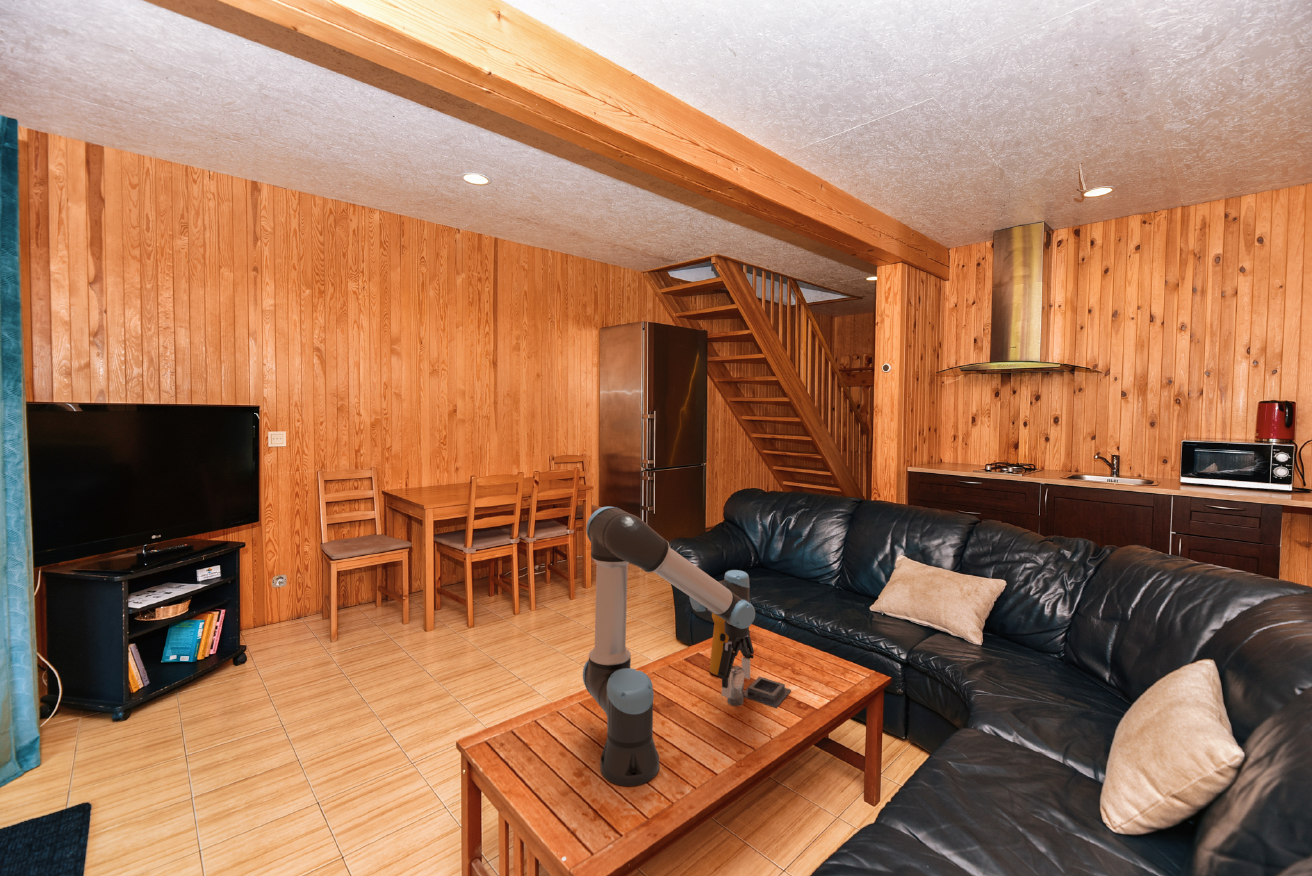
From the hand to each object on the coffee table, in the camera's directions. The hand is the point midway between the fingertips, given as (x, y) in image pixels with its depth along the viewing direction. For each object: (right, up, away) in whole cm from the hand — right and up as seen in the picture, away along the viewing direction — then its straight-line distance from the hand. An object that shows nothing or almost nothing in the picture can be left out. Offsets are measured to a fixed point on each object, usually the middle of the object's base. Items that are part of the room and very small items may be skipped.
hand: (736, 687), depth 176 cm
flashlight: (-3, -3, +19) cm, 19 cm away
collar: (+10, -4, +5) cm, 12 cm away
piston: (0, -5, 0) cm, 5 cm away
